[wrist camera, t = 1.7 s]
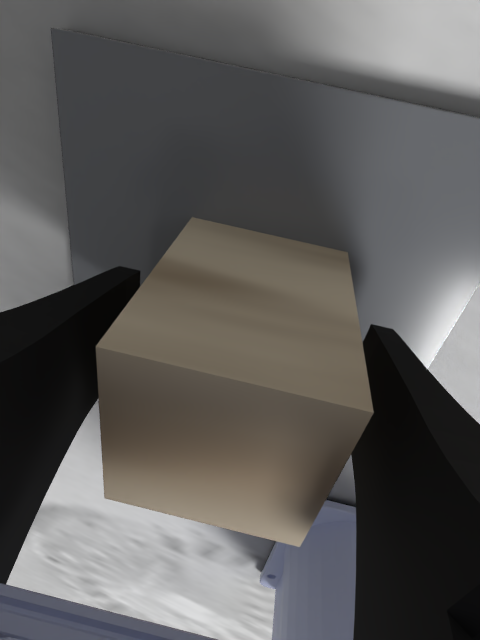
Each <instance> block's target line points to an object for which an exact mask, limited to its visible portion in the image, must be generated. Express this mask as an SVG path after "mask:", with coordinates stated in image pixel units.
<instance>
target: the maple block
mask: <svg viewBox="0 0 480 640" xmlns="http://www.w3.org/2000/svg"><path fill="white" fill-rule="evenodd" d="M96 361H97V378H98V395H99V412H100V429H101V446H102V463H103V480H104V497H105V498H106V499H110V500H114V501H118V502H122V503H126V504H130V505H134V506H138V507H141V508H145V509H149V510H153V511H157V512H161V513H165V514H169V515H173V516H177V517H181V518H185V519H189V520H193V521H197V522H201V523H205V524H209V525H213V526H217V527H221V528H225V529H229V530H233V531H237V532H241V533H245V534H249V535H253V536H257V537H261V538H265V539H269V540H273V541H277V542H281V543H285V544H289V545H293V546H297V547H300V546H301V544H302V542H303V541H304V539H305V537H306V535H307V533H308V531H309V530H310V528H311V526H312V524H313V522H314V521H315V519H316V517H317V515H318V513H319V511H320V510H321V508H322V506H323V504H324V502H325V501H326V499H327V497H328V495H329V493H330V491H331V490H332V488H333V486H334V484H335V482H336V481H337V479H338V477H339V475H340V473H341V471H342V470H343V468H344V466H345V464H346V462H347V460H348V459H349V457H350V455H351V453H352V451H353V450H354V448H355V446H356V444H357V442H358V440H359V439H360V437H361V435H362V433H363V431H364V430H365V428H366V426H367V424H368V422H369V420H370V419H371V417H372V415H373V413H374V411H373V405H372V399H371V393H370V387H369V380H368V374H367V368H366V362H365V356H364V350H363V343H362V337H361V331H360V325H359V319H358V312H357V306H356V300H355V294H354V288H353V281H352V275H351V269H350V263H349V257H348V252H345V251H340V250H336V249H331V248H327V247H322V246H318V245H314V244H309V243H305V242H300V241H296V240H291V239H287V238H282V237H278V236H274V235H269V234H265V233H260V232H256V231H251V230H247V229H243V228H238V227H234V226H229V225H225V224H220V223H216V222H212V221H207V220H203V219H198V218H194V217H192V218H191V219H190V221H189V222H188V223H187V225H186V226H185V227H184V229H183V230H182V231H181V233H180V234H179V235H178V237H177V238H176V239H175V241H174V242H173V243H172V245H171V246H170V247H169V249H168V250H167V251H166V253H165V254H164V255H163V257H162V258H161V259H160V261H159V262H158V263H157V265H156V266H155V268H154V269H153V270H152V272H151V273H150V274H149V276H148V277H147V278H146V280H145V281H144V282H143V284H142V285H141V286H140V288H139V289H138V290H137V292H136V293H135V294H134V296H133V297H132V298H131V300H130V301H129V302H128V304H127V305H126V306H125V308H124V309H123V310H122V312H121V313H120V315H119V316H118V317H117V319H116V320H115V321H114V323H113V324H112V325H111V327H110V328H109V329H108V331H107V332H106V333H105V335H104V336H103V337H102V339H101V340H100V341H99V343H98V344H97V345H96Z"/></svg>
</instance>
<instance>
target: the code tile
mask: <svg viewBox="0 0 480 640" xmlns="http://www.w3.org/2000/svg"><path fill="white" fill-rule="evenodd" d="M51 34H52V45H53V57H54V68H55V79H56V90H57V101H58V112H59V123H60V134H61V146H62V157H63V168H64V179H65V190H66V201H67V212H68V223H69V235H70V246H71V257H72V268H73V279H74V285H76V284H78V283H80V282H82V281H85V280H87V279H89V278H92V277H94V276H96V275H98V274H101V273H103V272H105V271H108V270H110V269H112V268H115V267H118V266H122V267H127V268H131V269H135V270H140V286H141V285H142V284H143V282H144V281H145V280H146V278H147V277H148V276H149V274H150V273H151V272H152V270H153V269H154V268H155V266H156V265H157V263H158V262H159V261H160V259H161V258H162V257H163V255H164V254H165V253H166V251H167V250H168V249H169V247H170V246H171V245H172V243H173V242H174V241H175V239H176V238H177V237H178V235H179V234H180V233H181V231H182V230H183V229H184V227H185V226H186V225H187V223H188V222H189V221H190V219H191V218H192V217H194V218H198V219H203V220H207V221H212V222H216V223H220V224H225V225H229V226H234V227H238V228H243V229H247V230H251V231H256V232H260V233H265V234H269V235H274V236H278V237H282V238H287V239H291V240H296V241H300V242H305V243H309V244H314V245H318V246H322V247H327V248H331V249H336V250H340V251H345V252H348V257H349V263H350V269H351V275H352V281H353V288H354V294H355V300H356V306H357V312H358V319H359V325H360V331H361V337H362V343H363V341H364V339H365V336H366V334H367V332H368V330H369V328H370V325H371V324H373V325H378V326H382V327H386V328H391V329H393V330H394V331H395V332H396V333H397V334H398V335H399V336H400V337H401V338H402V339H403V341H404V342H405V343H406V344H407V345H408V346H409V348H410V349H411V350H412V351H413V352H414V354H415V355H416V356H417V357H418V358H419V360H420V361H421V362H422V363H423V364H424V366H425V367H426V368H427V369H428V368H429V366H430V364H431V363H432V361H433V359H434V358H435V356H436V354H437V353H438V351H439V350H440V348H441V346H442V345H443V343H444V341H445V340H446V338H447V336H448V335H449V333H450V332H451V330H452V328H453V327H454V325H455V323H456V322H457V320H458V318H459V317H460V315H461V313H462V312H463V310H464V309H465V307H466V305H467V304H468V302H469V300H470V299H471V297H472V295H473V294H474V292H475V291H476V289H477V287H478V286H479V284H480V117H476V116H471V115H467V114H462V113H457V112H453V111H448V110H443V109H438V108H434V107H429V106H424V105H420V104H415V103H410V102H405V101H401V100H396V99H391V98H387V97H382V96H377V95H373V94H368V93H363V92H358V91H354V90H349V89H344V88H340V87H335V86H330V85H325V84H321V83H316V82H311V81H307V80H302V79H297V78H292V77H288V76H283V75H278V74H274V73H269V72H264V71H259V70H255V69H250V68H245V67H241V66H236V65H231V64H226V63H222V62H217V61H212V60H208V59H203V58H198V57H193V56H189V55H184V54H179V53H175V52H170V51H165V50H160V49H156V48H151V47H146V46H142V45H137V44H132V43H127V42H123V41H118V40H113V39H109V38H104V37H99V36H94V35H90V34H85V33H80V32H76V31H71V30H66V29H57V28H51Z"/></svg>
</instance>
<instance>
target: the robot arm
mask: <svg viewBox="0 0 480 640" xmlns="http://www.w3.org/2000/svg"><path fill="white" fill-rule="evenodd" d="M139 288H140V270H135V269H131V268H127V267H122V266H118V267H115V268H112V269H110V270H108V271H105V272H103V273H101V274H98V275H96V276H94V277H92V278H89V279H87V280H85V281H82V282H80V283H78V284H76V285H73V286H71V287H69V288H66V289H64V290H62V291H59V292H57V293H54V294H51V295H49V296H46V297H44V298H41V299H38V300H36V301H33V302H31V303H28V304H25V305H22V306H20V307H17V308H13V309H10V310H7V311H4V312H1V313H0V640H217V639H214V638H210V637H206V636H202V635H198V634H194V633H190V632H187V631H183V630H179V629H175V628H171V627H167V626H164V625H160V624H156V623H152V622H148V621H144V620H140V619H137V618H133V617H129V616H125V615H121V614H117V613H113V612H110V611H106V610H102V609H98V608H94V607H90V606H87V605H83V604H79V603H75V602H71V601H67V600H63V599H60V598H56V597H52V596H48V595H44V594H40V593H37V592H33V591H29V590H25V589H21V588H17V587H13V586H10V585H6V583H7V580H8V578H9V575H10V573H11V571H12V569H13V566H14V564H15V562H16V559H17V557H18V555H19V552H20V550H21V548H22V545H23V543H24V541H25V538H26V536H27V534H28V532H29V529H30V527H31V525H32V523H33V521H34V519H35V516H36V514H37V512H38V510H39V508H40V506H41V503H42V501H43V499H44V497H45V495H46V493H47V491H48V489H49V487H50V485H51V483H52V480H53V478H54V476H55V474H56V472H57V470H58V468H59V466H60V464H61V462H62V460H63V458H64V456H65V454H66V452H67V450H68V449H69V447H70V445H71V443H72V441H73V439H74V437H75V435H76V433H77V431H78V429H79V428H80V426H81V424H82V423H83V421H84V419H85V418H86V416H87V414H88V413H89V411H90V410H91V408H92V407H93V405H94V404H95V402H96V401H97V399H98V398H99V395H98V378H97V361H96V345H97V344H98V343H99V341H100V340H101V339H102V337H103V336H104V335H105V333H106V332H107V331H108V329H109V328H110V327H111V325H112V324H113V323H114V321H115V320H116V319H117V317H118V316H119V315H120V313H121V312H122V310H123V309H124V308H125V306H126V305H127V304H128V302H129V301H130V300H131V298H132V297H133V296H134V294H135V293H136V292H137V290H138V289H139ZM363 350H364V356H365V362H366V368H367V374H368V380H369V387H370V393H371V399H372V405H373V411H374V413H373V415H372V417H371V419H370V420H369V422H368V424H367V426H366V428H365V430H364V431H363V433H362V435H361V437H360V439H359V440H358V442H357V444H356V446H355V448H354V450H353V451H352V453H351V455H352V463H353V471H354V480H355V492H356V507H353V506H349V505H345V504H341V503H336V502H332V501H328V500H326V501H325V502H324V504H323V506H322V508H321V510H320V511H319V513H318V515H317V517H316V519H315V521H314V522H313V524H312V526H311V528H310V530H309V531H308V533H307V535H306V537H305V539H304V541H303V542H302V544H301V546H300V547H297V546H293V545H289V544H285V543H281V542H277V541H276V543H275V545H274V547H273V549H272V551H271V554H270V556H269V558H268V560H267V562H266V564H265V566H264V569H263V571H262V573H261V575H260V583H261V585H263V586H265V587H269V588H273V589H276V592H275V605H274V619H273V632H272V640H480V424H479V423H478V422H477V421H476V420H475V419H473V418H472V417H471V416H470V415H469V414H468V413H467V412H466V411H465V410H464V409H463V408H462V407H461V405H460V404H459V403H458V402H457V401H456V400H455V399H454V398H453V397H452V396H451V395H450V394H449V393H448V392H447V391H446V390H445V389H444V387H443V386H442V385H441V384H440V383H439V382H438V381H437V380H436V378H435V377H434V376H433V375H432V374H431V373H430V372H429V370H428V369H427V368H426V367H425V366H424V364H423V363H422V362H421V361H420V360H419V358H418V357H417V356H416V355H415V354H414V352H413V351H412V350H411V349H410V348H409V346H408V345H407V344H406V343H405V342H404V341H403V339H402V338H401V337H400V336H399V335H398V334H397V333H396V332H395V331H394V330H393V329H391V328H386V327H382V326H378V325H373V324H371V325H370V328H369V330H368V332H367V334H366V336H365V339H364V341H363Z"/></svg>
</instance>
